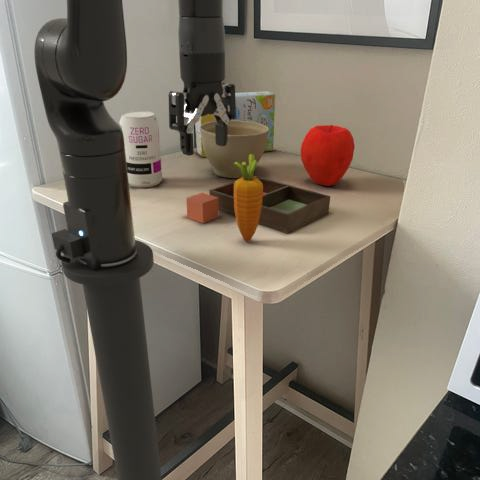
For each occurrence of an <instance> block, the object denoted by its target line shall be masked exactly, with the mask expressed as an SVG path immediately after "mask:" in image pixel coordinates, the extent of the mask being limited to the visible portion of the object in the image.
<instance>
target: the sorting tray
mask: <svg viewBox="0 0 480 480" xmlns="http://www.w3.org/2000/svg"><path fill="white" fill-rule="evenodd" d="M253 177H255V178H258V179H259V180H260V181H261V182H262V184H263V198H262V209H261V214H260V219H259V222H258V225H261V226H263V227H267V228H269V229H273V230H276V231H279V232H282V233H284V234H290V233H291V232H293V231H295V230H298V229H300V228H302V227H304V226H306V225H307V224H309V223H312V222H314V221H316V220H318V219H320V218H322V217H324V216H326V215H328V214H329V213H330V205H331V204H330V203H331V195H328V194H324V193H320V192H317V191H313V190H309V189H307V188H302V187H298V186H295V185H291V184H287V183H283V182H281V181H280V182H279V181H276V180H272V179H269V178H264V177H261V176H258V175H255V174H253ZM234 182H235V181H232V182H229V183H226V184H223V185H220V186H218V187H214V188H212V189H209V192H208V193H209V195H212V196H215V197H218V209H219V211H220V212H223V213H225V214H229V215H232V216H235V210H234Z"/></svg>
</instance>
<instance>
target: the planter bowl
mask: <svg viewBox="0 0 480 480" xmlns="http://www.w3.org/2000/svg"><path fill="white" fill-rule="evenodd" d="M215 124H217V122H216V121H213V122H208V123H204V124H202V125H201V126H200V132H201V140H202V146H203V149H204V152H205V155H206V157H205V158H206V159H207V161H208V162H209V164H210V165H211V167H212V169H213V173H214V174H215V175H216V176H219V177H222V178H227V179H240V178H241V177H243V174H242V172H241V171H240V170H239V168H238V167H236V166H235V165H234V163H235V162H238V163H239V164H241V166H242V163H243V162H245V163H246V165H247V167H248V166H249V155H250V154H252V155H254V156H255V160H256V161H257V165H258V164H259V162H260V160H261V159H262V157H263V155H264V152H265V151H264V150H265V146H266V141H267V135H268V130H269V129H268V127H266V126H265V125H262V124H259V123H254V122H247V121H236V120H230V121H229V124H228V133H227V134H228V139H227V144H226V146H219V145H216V139H215ZM242 167H243V166H242Z"/></svg>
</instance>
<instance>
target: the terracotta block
mask: <svg viewBox="0 0 480 480" xmlns="http://www.w3.org/2000/svg"><path fill="white" fill-rule="evenodd" d="M185 202H186V218H187V219H190V220H193V221H195V222H198V223H201V224H205V223H208V222H210V221H213V220H215V219H218V218H219V211H220V210H219V209H218V197H215V196H212V195H210V194H208V193H205V192H200V193H197V194H194V195H191V196H189V197H186V201H185Z"/></svg>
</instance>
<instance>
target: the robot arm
mask: <svg viewBox="0 0 480 480" xmlns="http://www.w3.org/2000/svg"><path fill="white" fill-rule="evenodd" d="M177 3H178V4H177V5H178V31H177V32H178V34H177V35H178V37H177V38H178V51H179V52H178V53H179V54H178V55H179V73H180V79H181V80H182V83H183V90H182V91H173V90H170V91H169V92H168V123H169V124H168V127H169V129H170V130H172V131H176V132H178V133H179V143H180V151H181V152H182V154H183V155H185V156H188V157H190V156H194V152H195V151H194V133H192V132H193V129H194V127H195V123H196V122H198V121H199V119H200V117H201V116H205V115H207V114H211V115H212V116H213V118H214V119H215V121H216V122H217V124H215V139H216V145H219V146H226V144H227V139H228V134H227V133H228V124H229V121H230V120H232V119H233V120H234V119H235V118H236V99H235V93H236V85H235V84H233V83H227V82H224V81H225V79H226V33H225V32H226V31H225V24H224V0H177ZM35 37H36V38H35V41H34V50H33V51H34V56H33V57H34V65H35V71H36V75H37V76H36V77H37V81H38V86H39V90H40V94H41V100H42V103H43V107H44V112H45V116H46V120H47V124H48V125H49V128H50V130H51V132H52V133H53V135H54V137H55V140H56V144H57V148H58V153H59V158H60V164H61V169H62V175H63V181H64V185H65V186H64V187H65V191H66V197H67V201H64V202H63V204H62V206H63V212H64V219H65V223H66V228H64V229H60V230H58V231H54V232H51V239H52V243H53V247H54V250H56V251H55V256H56V258H57V259H58V260H59V261H60V262H61V261H64V262H67V263H69V262H70V261H71V260H70V259H69V258H67V257H63V255H64V254H65V255H67V256H69V257H71V258H73V260H75V261H77V262H79V263H80V264H82V265H84V266H86V267H88V268H90V269H92V270H94V271H97V270H100V269H107V268H115V267H119V266H123V265H125V264H128V263H130V262H131V261H133V260H134V259H135V258H136V256H137V249H136V245H135V240H136V237H135V227H134V219H133V211H132V201H131V192H130V191H131V190H130V184H129V182H128V173H127V164H126V154H125V144H124V136H123V131H122V129H121V127H120V123H118V122H117V121H116V120H115V119H114V118H113V117H112V116H111V114H110V113H109V111H108V109H107V108H106V105H105V102H107V101H109V100H112V99H114V97H116V96H117V95H118V94H119V92H120V91H121V89H122V88H123V85H124V83H125V81H126V76H127V69H128V49H127V48H128V47H127V35H126V25H125V15H124V5H123V0H66V17H64V18H63V17H60V18H59V17H58V18H54V19H51V20H48V21H47V22H45V23H44V24H43V25H42V26H41V28H40V29H39V30H38V32H37V35H36V36H35ZM228 105H229V107H230V112H229V111H228ZM190 112H191V113H190Z"/></svg>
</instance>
